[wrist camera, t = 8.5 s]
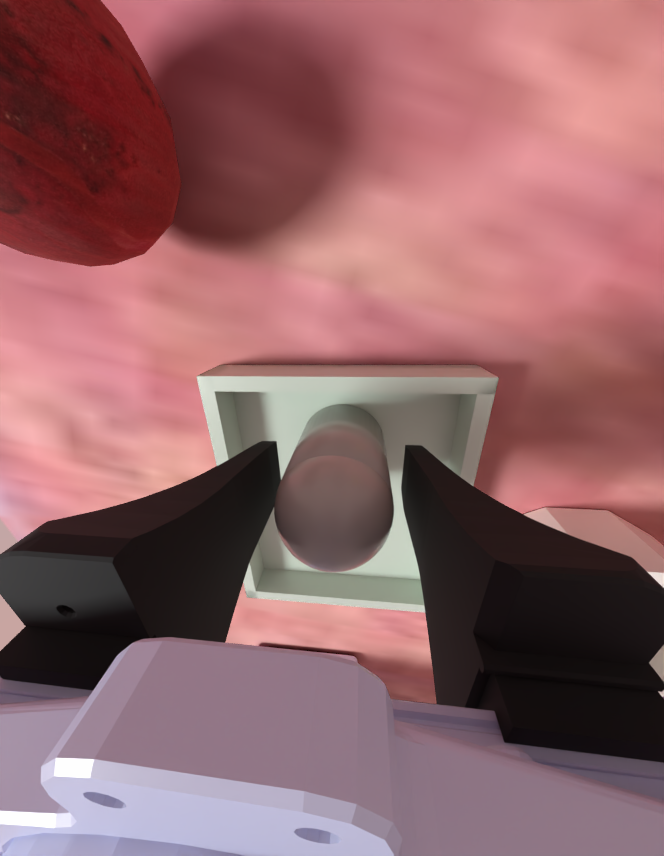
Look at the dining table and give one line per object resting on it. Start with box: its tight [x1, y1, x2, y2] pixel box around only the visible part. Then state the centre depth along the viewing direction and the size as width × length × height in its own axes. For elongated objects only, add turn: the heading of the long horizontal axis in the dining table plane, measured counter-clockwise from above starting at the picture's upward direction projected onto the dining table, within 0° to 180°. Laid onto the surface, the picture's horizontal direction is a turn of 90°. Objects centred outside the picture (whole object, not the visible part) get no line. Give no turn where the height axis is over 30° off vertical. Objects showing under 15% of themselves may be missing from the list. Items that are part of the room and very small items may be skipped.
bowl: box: [523, 507, 664, 697], centre depth 15 cm, size 11×11×4 cm
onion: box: [0, 0, 181, 266], centre depth 6 cm, size 6×6×8 cm
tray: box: [197, 365, 499, 612], centre depth 14 cm, size 13×11×2 cm
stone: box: [274, 404, 394, 572], centre depth 10 cm, size 4×4×6 cm
